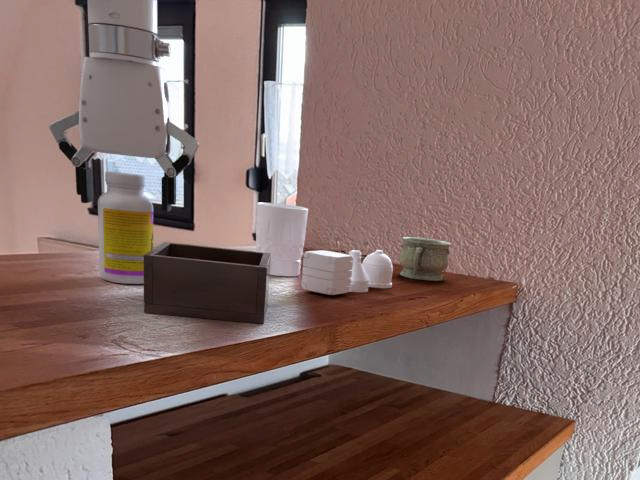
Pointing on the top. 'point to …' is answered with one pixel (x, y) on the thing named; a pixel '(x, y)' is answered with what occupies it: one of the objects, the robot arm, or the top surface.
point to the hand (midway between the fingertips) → (127, 206)
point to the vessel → (424, 258)
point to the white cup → (281, 236)
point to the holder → (207, 282)
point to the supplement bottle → (124, 228)
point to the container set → (345, 272)
